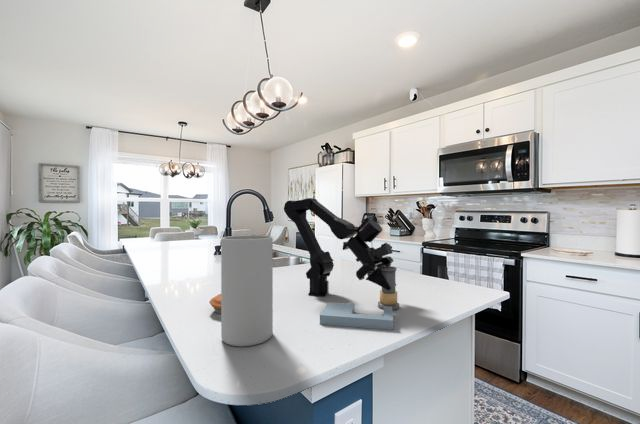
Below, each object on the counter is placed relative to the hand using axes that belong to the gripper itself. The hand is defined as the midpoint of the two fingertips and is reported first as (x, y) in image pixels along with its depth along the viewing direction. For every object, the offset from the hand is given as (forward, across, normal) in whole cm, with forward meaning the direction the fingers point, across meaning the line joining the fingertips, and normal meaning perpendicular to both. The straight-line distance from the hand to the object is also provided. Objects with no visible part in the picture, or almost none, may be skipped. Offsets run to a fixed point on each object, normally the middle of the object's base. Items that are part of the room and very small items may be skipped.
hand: (392, 287), depth 97 cm
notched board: (+1, -16, +8) cm, 17 cm away
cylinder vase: (-10, -42, +20) cm, 48 cm away
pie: (-24, -31, +34) cm, 51 cm away
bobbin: (+4, 0, +6) cm, 7 cm away
